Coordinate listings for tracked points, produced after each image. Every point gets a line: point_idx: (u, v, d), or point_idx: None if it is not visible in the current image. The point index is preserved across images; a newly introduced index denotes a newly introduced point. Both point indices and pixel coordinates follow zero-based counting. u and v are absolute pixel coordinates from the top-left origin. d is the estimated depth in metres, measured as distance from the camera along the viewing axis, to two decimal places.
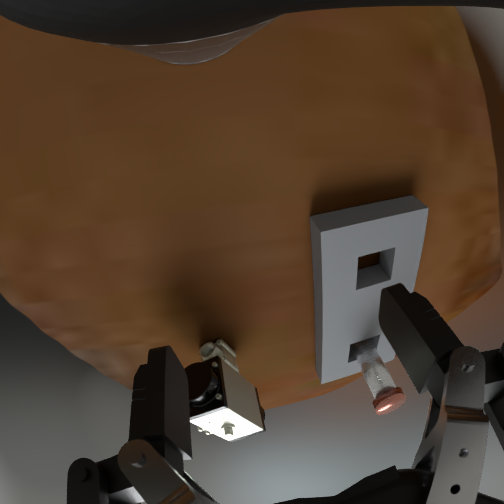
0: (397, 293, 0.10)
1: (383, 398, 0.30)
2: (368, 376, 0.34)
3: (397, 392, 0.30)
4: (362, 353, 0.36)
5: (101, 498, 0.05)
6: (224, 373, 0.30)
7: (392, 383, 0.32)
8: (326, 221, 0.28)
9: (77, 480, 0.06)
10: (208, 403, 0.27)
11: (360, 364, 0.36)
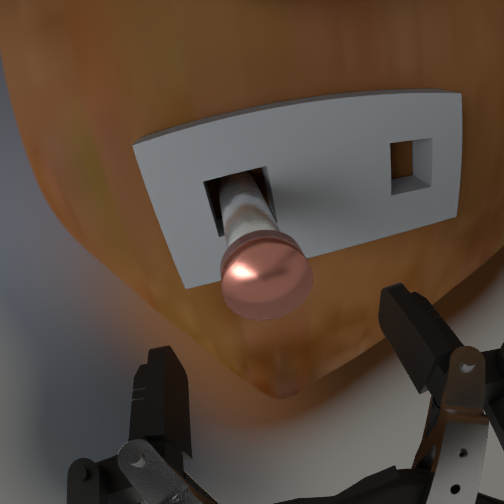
0: (397, 293, 0.10)
1: (296, 246, 0.13)
2: (258, 210, 0.17)
3: None
4: (259, 193, 0.20)
5: (101, 498, 0.05)
6: None
7: None
8: None
9: (77, 480, 0.06)
10: None
11: (245, 194, 0.19)
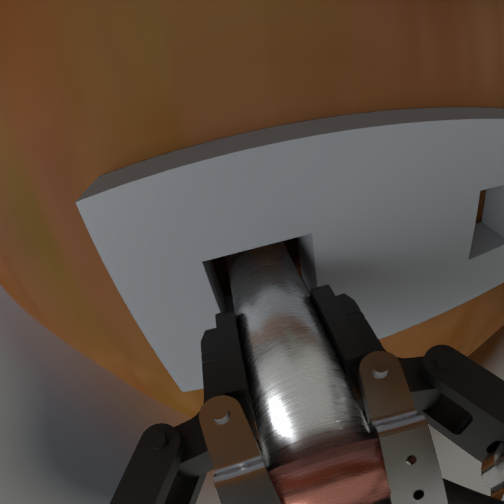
0: (321, 294, 0.11)
1: None
2: (313, 348, 0.08)
3: None
4: (301, 285, 0.11)
5: (170, 471, 0.06)
6: None
7: None
8: None
9: (150, 445, 0.07)
10: None
11: (281, 298, 0.10)
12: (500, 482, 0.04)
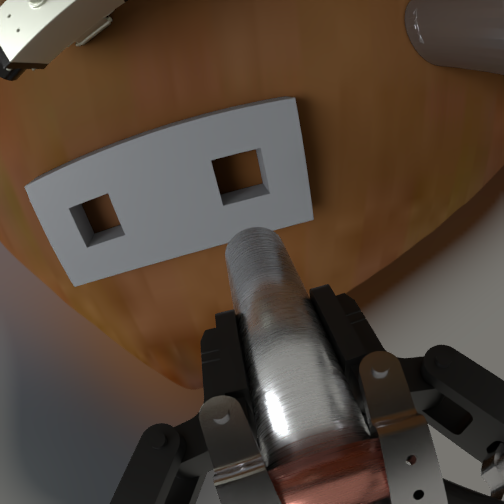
0: (321, 294, 0.11)
1: None
2: (312, 348, 0.09)
3: None
4: (300, 286, 0.12)
5: (170, 471, 0.06)
6: None
7: None
8: None
9: (150, 445, 0.07)
10: None
11: (280, 298, 0.10)
12: (500, 482, 0.04)
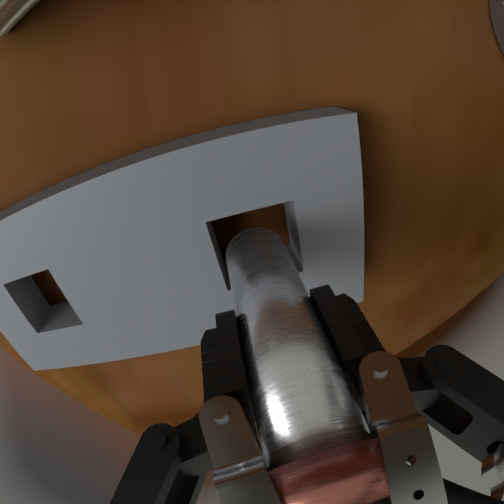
0: (321, 294, 0.11)
1: None
2: (313, 348, 0.09)
3: None
4: (301, 286, 0.12)
5: (170, 471, 0.06)
6: None
7: None
8: None
9: (150, 445, 0.07)
10: None
11: (281, 298, 0.10)
12: (499, 482, 0.04)
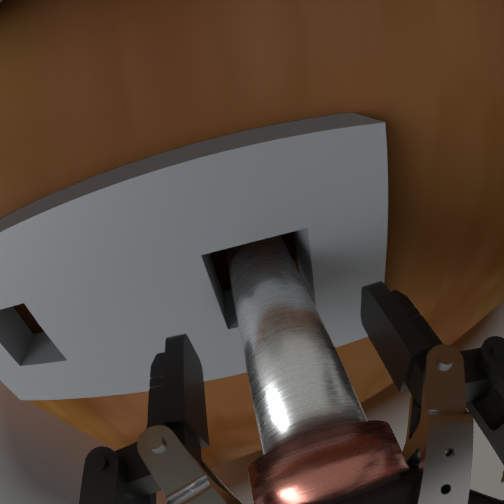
0: (376, 291, 0.10)
1: (393, 443, 0.06)
2: (309, 336, 0.09)
3: None
4: (298, 278, 0.12)
5: (117, 489, 0.06)
6: None
7: None
8: None
9: (94, 468, 0.06)
10: None
11: (279, 289, 0.11)
12: None
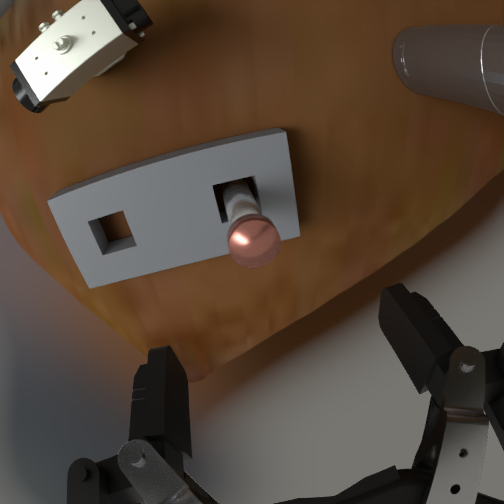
0: (397, 293, 0.10)
1: (271, 222, 0.24)
2: (249, 203, 0.27)
3: None
4: (250, 193, 0.30)
5: (101, 498, 0.05)
6: (131, 43, 0.19)
7: None
8: None
9: (77, 480, 0.06)
10: (121, 14, 0.15)
11: (241, 194, 0.29)
12: None
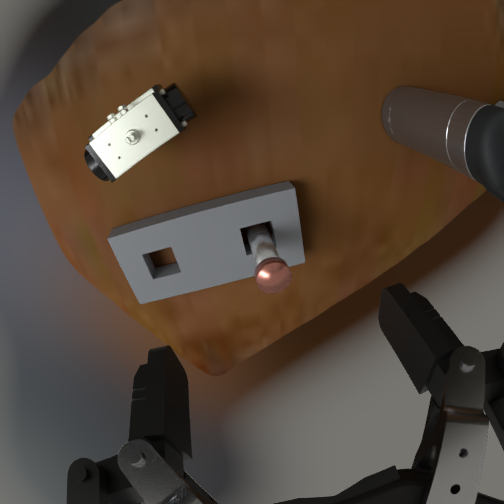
0: (397, 293, 0.10)
1: (285, 263, 0.35)
2: (269, 246, 0.38)
3: None
4: (268, 235, 0.41)
5: (101, 498, 0.05)
6: None
7: None
8: None
9: (77, 480, 0.06)
10: (175, 113, 0.26)
11: (262, 236, 0.40)
12: None
